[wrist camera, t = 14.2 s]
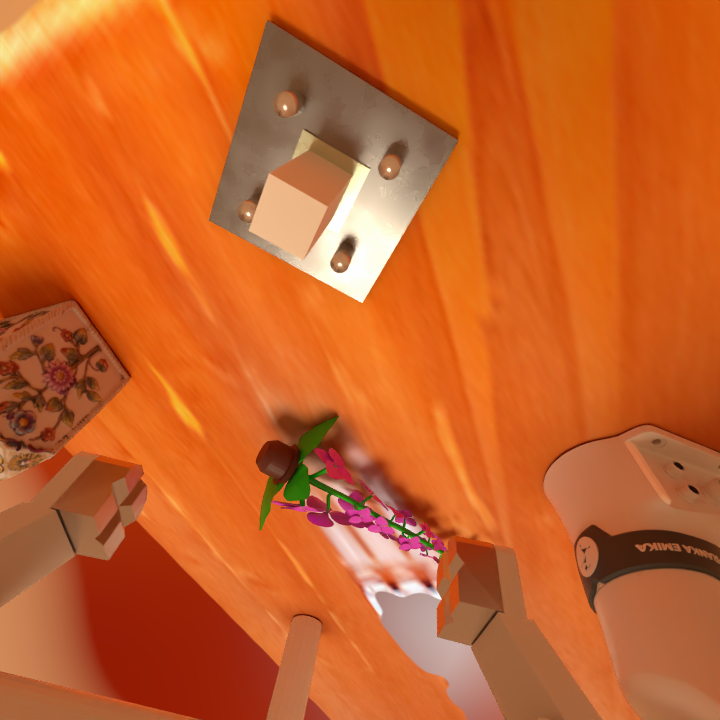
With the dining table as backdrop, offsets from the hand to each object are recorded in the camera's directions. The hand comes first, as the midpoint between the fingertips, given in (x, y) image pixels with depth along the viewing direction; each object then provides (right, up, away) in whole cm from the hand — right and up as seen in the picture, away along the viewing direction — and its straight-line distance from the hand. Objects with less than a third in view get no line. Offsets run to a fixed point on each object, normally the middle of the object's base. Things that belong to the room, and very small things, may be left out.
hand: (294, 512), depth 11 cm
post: (-2, +19, +24) cm, 30 cm away
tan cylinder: (-9, -48, +72) cm, 87 cm away
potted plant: (+5, -13, +47) cm, 49 cm away
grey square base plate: (-1, +19, +25) cm, 32 cm away
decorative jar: (-34, +6, +40) cm, 53 cm away
